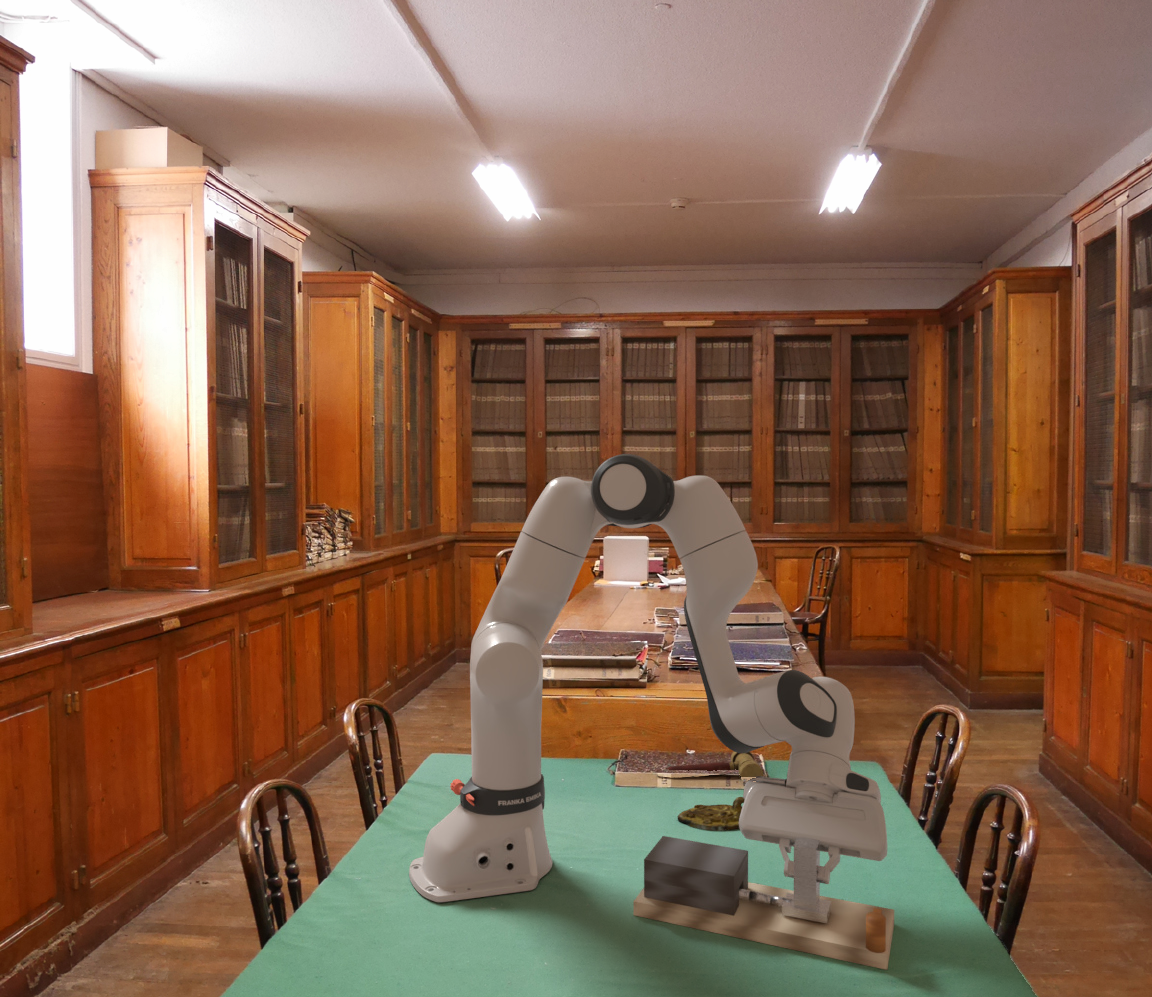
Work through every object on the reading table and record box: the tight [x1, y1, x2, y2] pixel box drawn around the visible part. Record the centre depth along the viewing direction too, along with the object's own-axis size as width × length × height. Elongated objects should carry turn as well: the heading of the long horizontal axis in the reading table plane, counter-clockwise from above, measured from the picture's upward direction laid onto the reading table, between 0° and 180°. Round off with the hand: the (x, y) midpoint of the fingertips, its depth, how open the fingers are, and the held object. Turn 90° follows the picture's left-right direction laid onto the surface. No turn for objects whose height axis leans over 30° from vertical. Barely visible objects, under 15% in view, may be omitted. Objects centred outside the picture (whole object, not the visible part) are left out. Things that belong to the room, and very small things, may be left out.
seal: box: [677, 796, 745, 832], centre depth 157 cm, size 9×5×15 cm
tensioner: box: [633, 835, 895, 971], centre depth 123 cm, size 34×12×8 cm, turn 66°
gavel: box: [665, 751, 764, 777], centre depth 179 cm, size 21×5×10 cm
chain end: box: [739, 837, 831, 924], centre depth 123 cm, size 23×4×10 cm, turn 66°
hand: (806, 878), depth 119 cm, fingers closed on chain end, 3 cm apart
